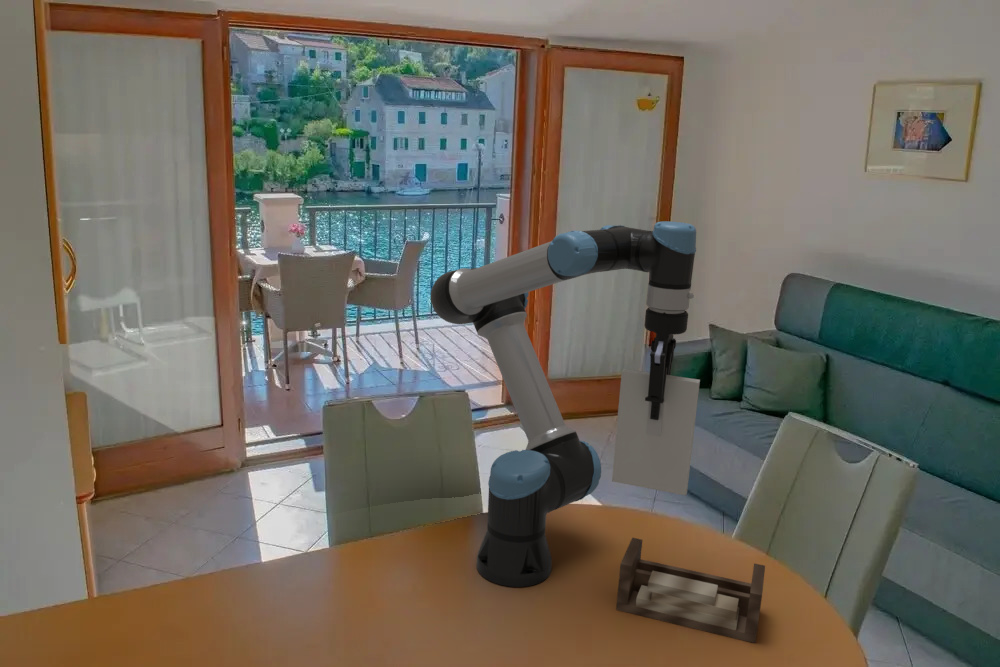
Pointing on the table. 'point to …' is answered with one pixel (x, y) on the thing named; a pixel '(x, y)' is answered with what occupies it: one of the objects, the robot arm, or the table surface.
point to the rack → (640, 571)
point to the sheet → (649, 455)
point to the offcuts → (688, 600)
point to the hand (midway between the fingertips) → (654, 432)
